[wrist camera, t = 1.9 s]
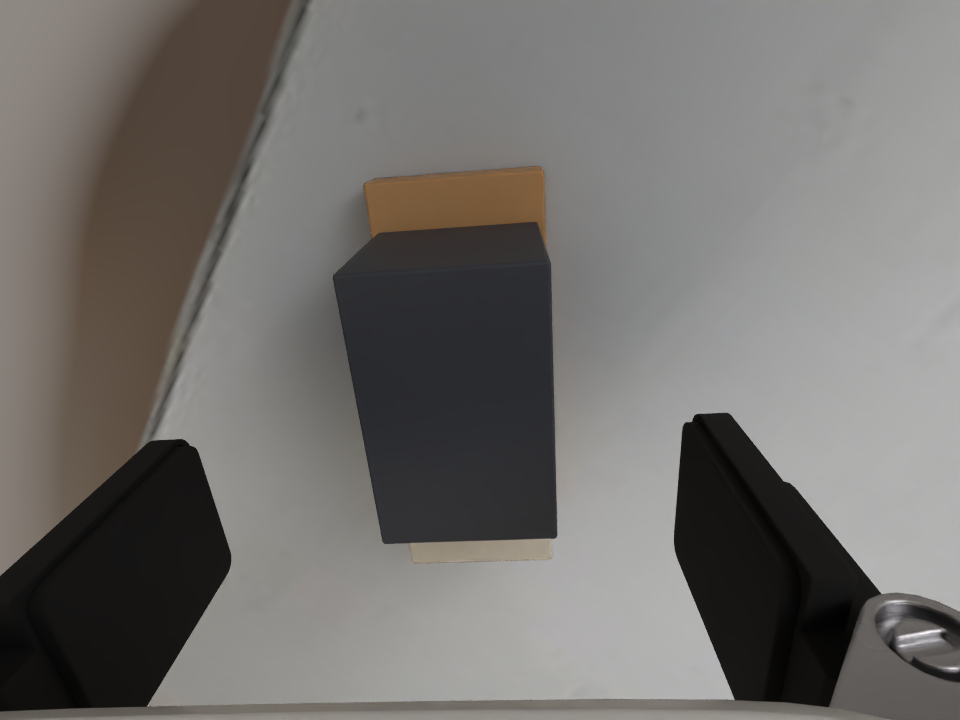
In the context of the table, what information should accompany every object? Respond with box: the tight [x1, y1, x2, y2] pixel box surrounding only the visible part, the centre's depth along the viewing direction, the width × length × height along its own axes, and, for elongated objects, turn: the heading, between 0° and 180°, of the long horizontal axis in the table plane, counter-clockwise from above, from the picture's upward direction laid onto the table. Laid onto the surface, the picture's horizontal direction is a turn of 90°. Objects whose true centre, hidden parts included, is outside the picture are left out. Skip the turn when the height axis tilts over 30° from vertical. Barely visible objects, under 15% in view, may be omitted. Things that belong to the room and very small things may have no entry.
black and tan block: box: [333, 166, 557, 563], centre depth 15 cm, size 12×5×6 cm, turn 4°
